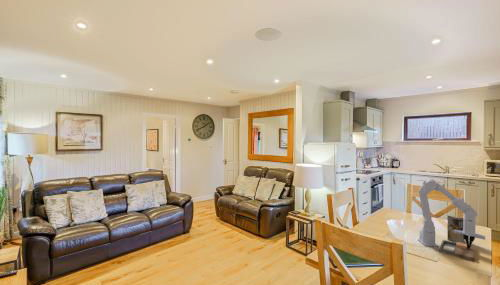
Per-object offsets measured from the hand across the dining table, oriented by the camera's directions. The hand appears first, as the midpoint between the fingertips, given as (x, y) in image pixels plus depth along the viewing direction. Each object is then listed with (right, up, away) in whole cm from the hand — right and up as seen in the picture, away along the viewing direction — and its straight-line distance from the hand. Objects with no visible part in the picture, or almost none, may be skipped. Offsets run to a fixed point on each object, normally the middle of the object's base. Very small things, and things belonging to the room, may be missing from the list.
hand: (468, 247), depth 152 cm
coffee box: (+6, -3, +17) cm, 18 cm away
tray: (-10, -3, +4) cm, 11 cm away
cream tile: (-12, -2, +1) cm, 12 cm away
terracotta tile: (-2, -1, +2) cm, 4 cm away
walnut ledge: (-4, -3, -2) cm, 5 cm away
